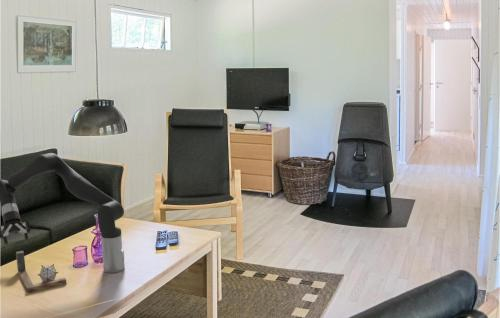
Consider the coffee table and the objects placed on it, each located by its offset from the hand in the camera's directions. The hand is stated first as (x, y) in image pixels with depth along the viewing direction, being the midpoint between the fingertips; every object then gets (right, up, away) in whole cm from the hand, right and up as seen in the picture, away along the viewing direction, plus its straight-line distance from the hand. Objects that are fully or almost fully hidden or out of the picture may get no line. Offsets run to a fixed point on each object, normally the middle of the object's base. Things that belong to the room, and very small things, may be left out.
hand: (16, 242), depth 237 cm
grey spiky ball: (+22, -16, -14) cm, 30 cm away
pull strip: (+17, -14, -11) cm, 25 cm away
